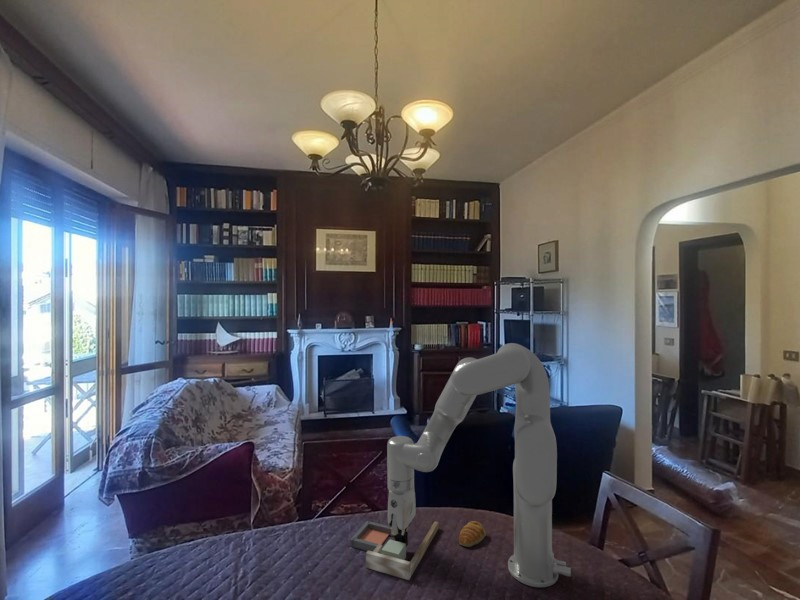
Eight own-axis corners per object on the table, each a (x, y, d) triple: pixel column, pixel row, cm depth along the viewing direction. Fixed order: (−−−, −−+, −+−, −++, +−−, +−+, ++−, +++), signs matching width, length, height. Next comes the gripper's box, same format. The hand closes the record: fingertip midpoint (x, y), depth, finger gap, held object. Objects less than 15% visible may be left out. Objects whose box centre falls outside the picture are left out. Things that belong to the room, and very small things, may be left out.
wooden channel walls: (438, 528, 126) (438, 515, 126) (408, 580, 104) (408, 564, 104) (402, 520, 131) (401, 507, 131) (366, 567, 109) (365, 552, 109)
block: (405, 557, 113) (405, 543, 113) (398, 569, 108) (398, 554, 108) (389, 553, 115) (389, 539, 115) (381, 564, 110) (381, 549, 110)
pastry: (474, 552, 115) (473, 539, 115) (452, 544, 119) (452, 531, 119) (487, 536, 123) (487, 523, 123) (467, 529, 127) (466, 516, 127)
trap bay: (392, 533, 124) (391, 526, 124) (376, 553, 115) (376, 546, 115) (367, 527, 128) (367, 520, 128) (350, 546, 118) (350, 539, 118)
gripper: (402, 496, 107) (403, 565, 107) (422, 473, 120) (423, 534, 121) (377, 491, 110) (377, 558, 110) (399, 469, 123) (399, 528, 124)
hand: (401, 545), depth 115 cm, fingers closed
